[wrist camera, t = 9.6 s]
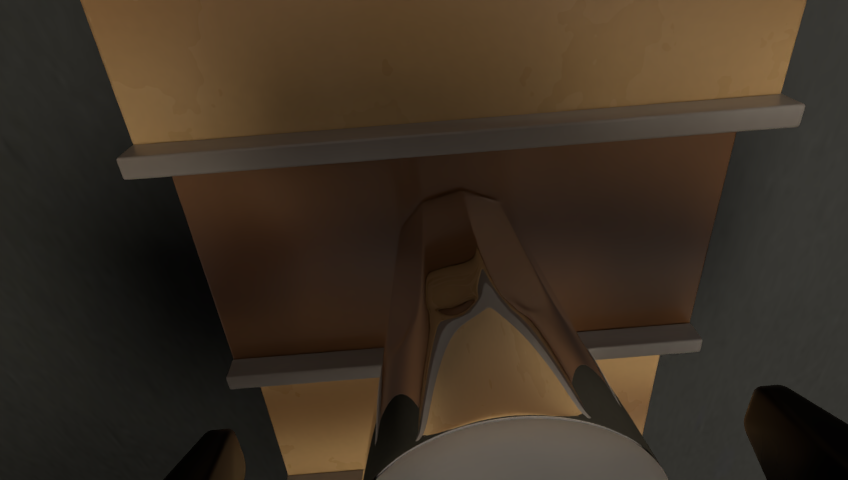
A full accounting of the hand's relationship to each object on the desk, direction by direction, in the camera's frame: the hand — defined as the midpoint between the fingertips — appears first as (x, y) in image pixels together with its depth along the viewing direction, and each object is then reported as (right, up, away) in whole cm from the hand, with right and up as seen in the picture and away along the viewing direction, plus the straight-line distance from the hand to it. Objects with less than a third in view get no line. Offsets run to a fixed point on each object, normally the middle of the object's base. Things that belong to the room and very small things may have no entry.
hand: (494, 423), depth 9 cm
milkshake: (-1, +3, +5) cm, 6 cm away
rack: (0, +4, +7) cm, 8 cm away
